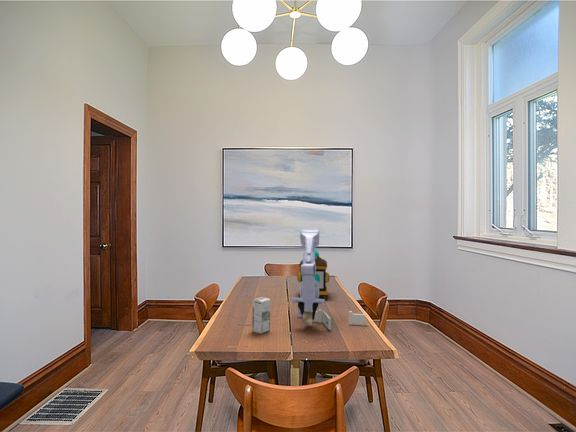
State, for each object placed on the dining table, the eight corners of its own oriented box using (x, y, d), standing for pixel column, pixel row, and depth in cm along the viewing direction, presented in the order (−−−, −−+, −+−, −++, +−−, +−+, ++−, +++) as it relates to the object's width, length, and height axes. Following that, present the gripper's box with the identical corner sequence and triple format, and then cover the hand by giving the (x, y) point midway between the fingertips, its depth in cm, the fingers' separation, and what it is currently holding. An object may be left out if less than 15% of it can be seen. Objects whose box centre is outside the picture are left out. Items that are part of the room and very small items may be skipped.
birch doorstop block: (302, 324, 151) (302, 314, 151) (305, 319, 159) (305, 309, 159) (311, 325, 150) (311, 315, 150) (313, 319, 158) (313, 310, 158)
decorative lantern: (329, 293, 219) (329, 247, 219) (329, 301, 200) (330, 250, 199) (298, 292, 221) (298, 246, 221) (296, 300, 202) (296, 250, 201)
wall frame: (308, 321, 163) (308, 309, 163) (309, 320, 165) (309, 308, 165) (365, 325, 158) (365, 313, 158) (365, 324, 159) (365, 312, 159)
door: (320, 321, 162) (320, 311, 162) (324, 321, 162) (324, 311, 162) (326, 330, 151) (326, 318, 151) (330, 329, 151) (331, 318, 151)
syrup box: (261, 327, 155) (261, 296, 155) (270, 330, 151) (270, 298, 151) (252, 331, 151) (252, 299, 150) (261, 334, 147) (261, 301, 147)
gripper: (291, 290, 152) (291, 320, 152) (323, 292, 149) (323, 322, 149) (294, 287, 159) (294, 315, 159) (324, 288, 156) (324, 317, 156)
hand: (308, 318), depth 155 cm, fingers closed on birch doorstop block, 4 cm apart
